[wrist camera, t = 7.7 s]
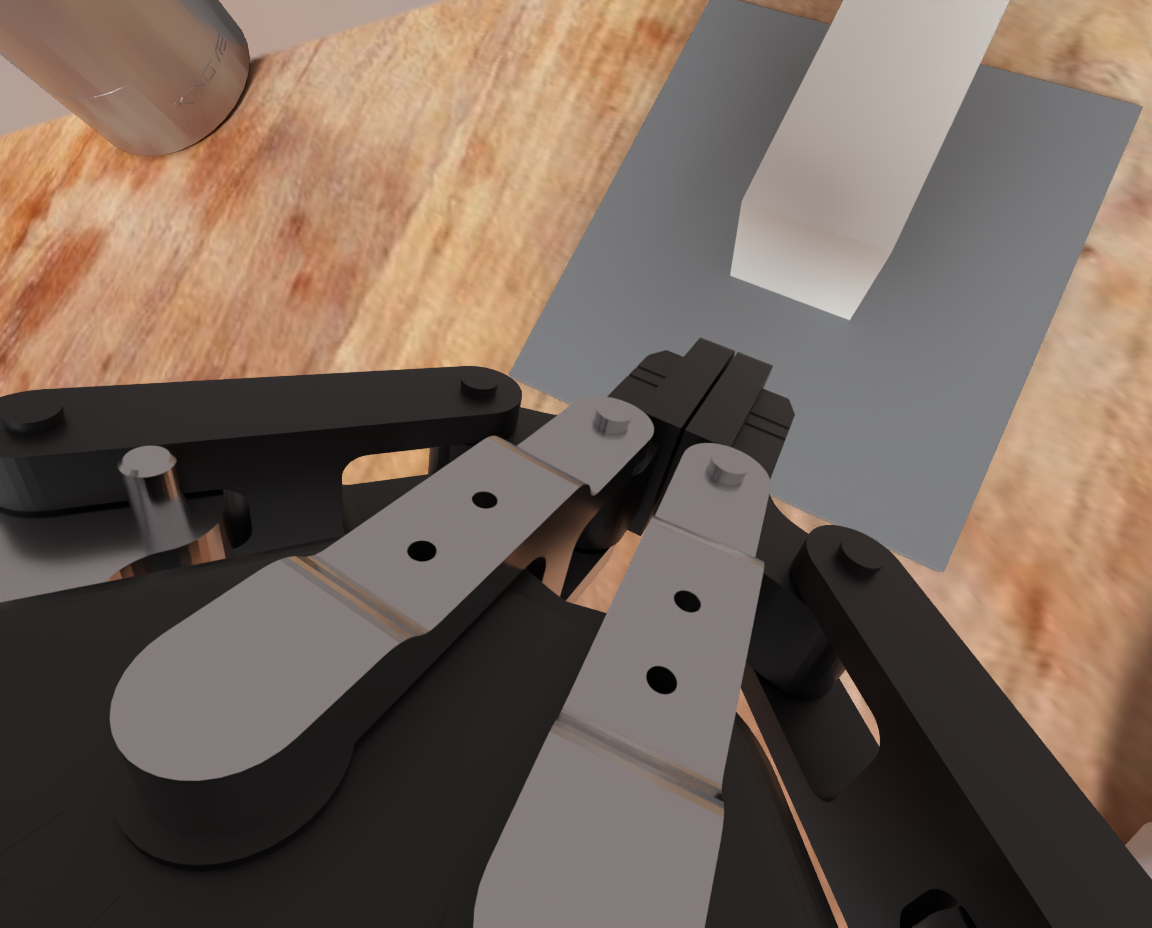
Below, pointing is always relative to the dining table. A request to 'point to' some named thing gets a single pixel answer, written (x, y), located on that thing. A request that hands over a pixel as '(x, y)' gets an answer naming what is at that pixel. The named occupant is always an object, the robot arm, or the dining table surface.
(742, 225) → the block
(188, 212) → the dining table surface
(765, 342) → the mat
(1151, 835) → the donut
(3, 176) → the dining table surface
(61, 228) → the dining table surface
